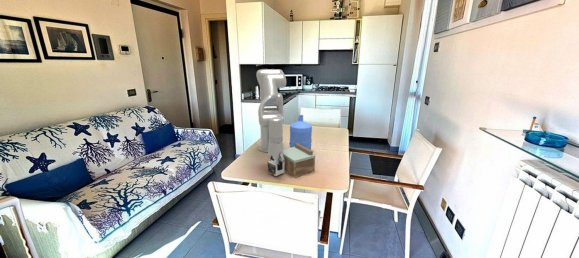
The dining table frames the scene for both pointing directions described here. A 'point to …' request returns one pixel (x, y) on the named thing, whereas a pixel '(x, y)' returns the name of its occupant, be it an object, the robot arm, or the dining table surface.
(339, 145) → the dining table surface
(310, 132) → the water jug
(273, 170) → the medicine bottle
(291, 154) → the lid
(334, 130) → the dining table surface
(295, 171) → the wooden box
